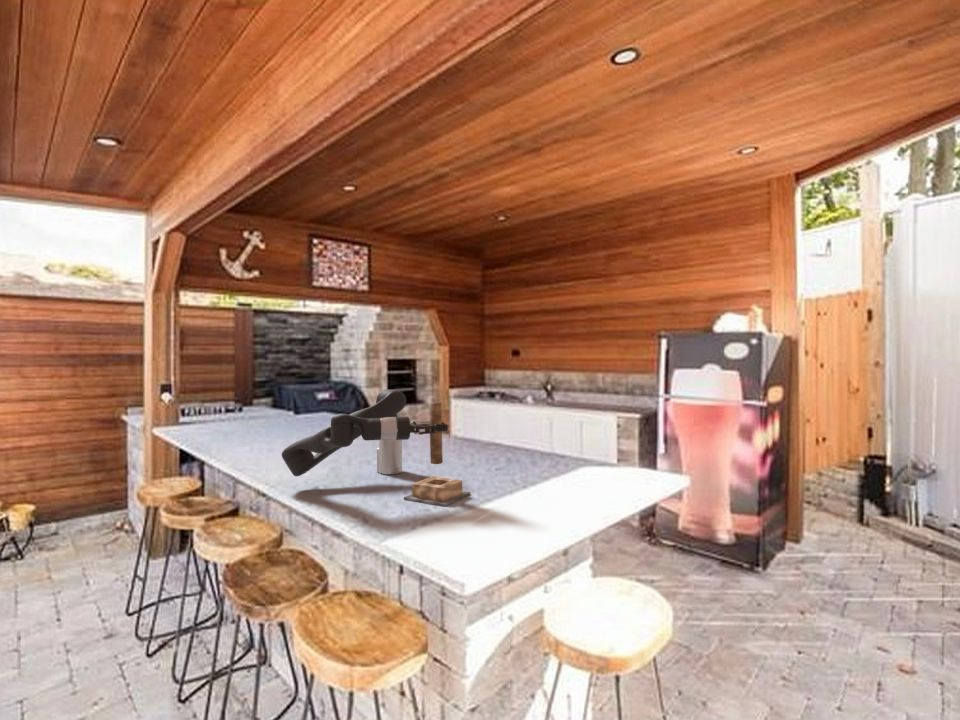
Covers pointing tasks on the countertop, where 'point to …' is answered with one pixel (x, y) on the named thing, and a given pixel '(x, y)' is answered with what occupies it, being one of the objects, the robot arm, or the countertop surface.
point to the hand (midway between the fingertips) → (445, 426)
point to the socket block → (437, 491)
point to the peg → (435, 437)
